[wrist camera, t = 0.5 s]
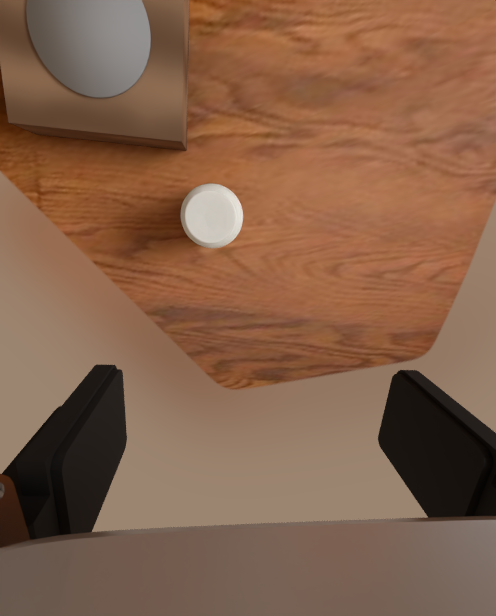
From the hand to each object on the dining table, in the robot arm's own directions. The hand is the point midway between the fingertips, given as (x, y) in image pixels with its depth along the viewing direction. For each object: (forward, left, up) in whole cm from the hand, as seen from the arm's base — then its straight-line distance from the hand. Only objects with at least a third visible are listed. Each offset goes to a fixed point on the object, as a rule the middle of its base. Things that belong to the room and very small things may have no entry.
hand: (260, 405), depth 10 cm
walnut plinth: (-19, -12, -25) cm, 34 cm away
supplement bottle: (-6, -2, -25) cm, 26 cm away
